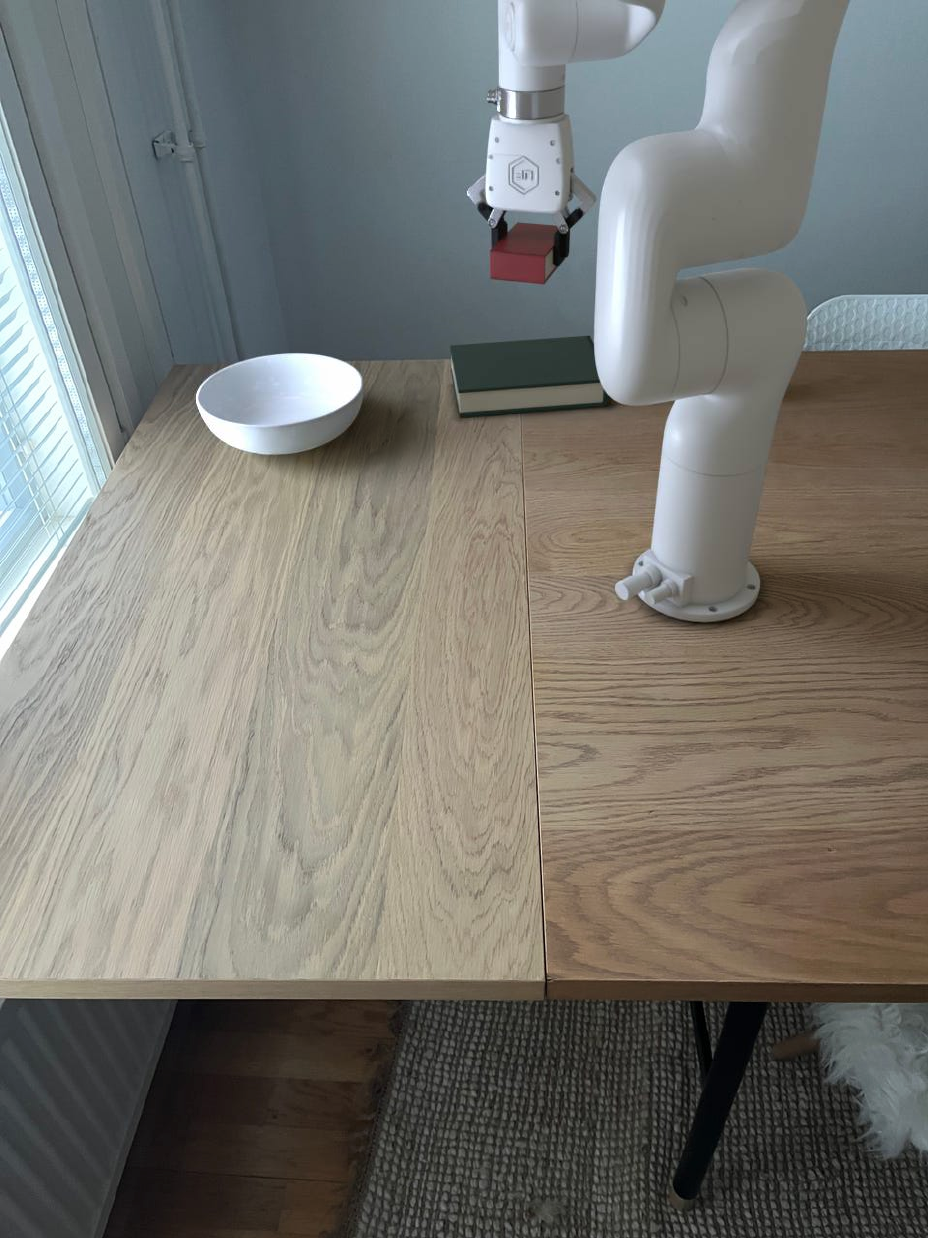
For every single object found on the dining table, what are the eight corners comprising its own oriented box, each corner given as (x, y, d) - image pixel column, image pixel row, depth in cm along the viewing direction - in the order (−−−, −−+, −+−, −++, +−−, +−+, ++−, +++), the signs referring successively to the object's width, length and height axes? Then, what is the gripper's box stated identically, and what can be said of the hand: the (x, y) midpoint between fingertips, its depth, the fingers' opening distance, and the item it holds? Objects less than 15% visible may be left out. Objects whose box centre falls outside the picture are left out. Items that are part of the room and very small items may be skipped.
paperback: (544, 284, 116) (545, 255, 113) (490, 278, 118) (489, 250, 115) (568, 254, 123) (569, 226, 121) (517, 249, 125) (517, 222, 123)
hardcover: (588, 361, 137) (589, 335, 135) (608, 406, 127) (610, 378, 124) (451, 371, 136) (449, 345, 134) (459, 417, 126) (458, 389, 123)
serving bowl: (389, 453, 119) (384, 403, 114) (223, 491, 113) (211, 440, 109) (343, 386, 134) (337, 339, 130) (195, 416, 128) (183, 369, 124)
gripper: (449, 107, 108) (455, 263, 120) (597, 114, 103) (589, 276, 115) (471, 93, 114) (475, 244, 125) (613, 98, 109) (604, 255, 120)
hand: (530, 258), depth 120 cm, fingers closed on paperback, 7 cm apart
